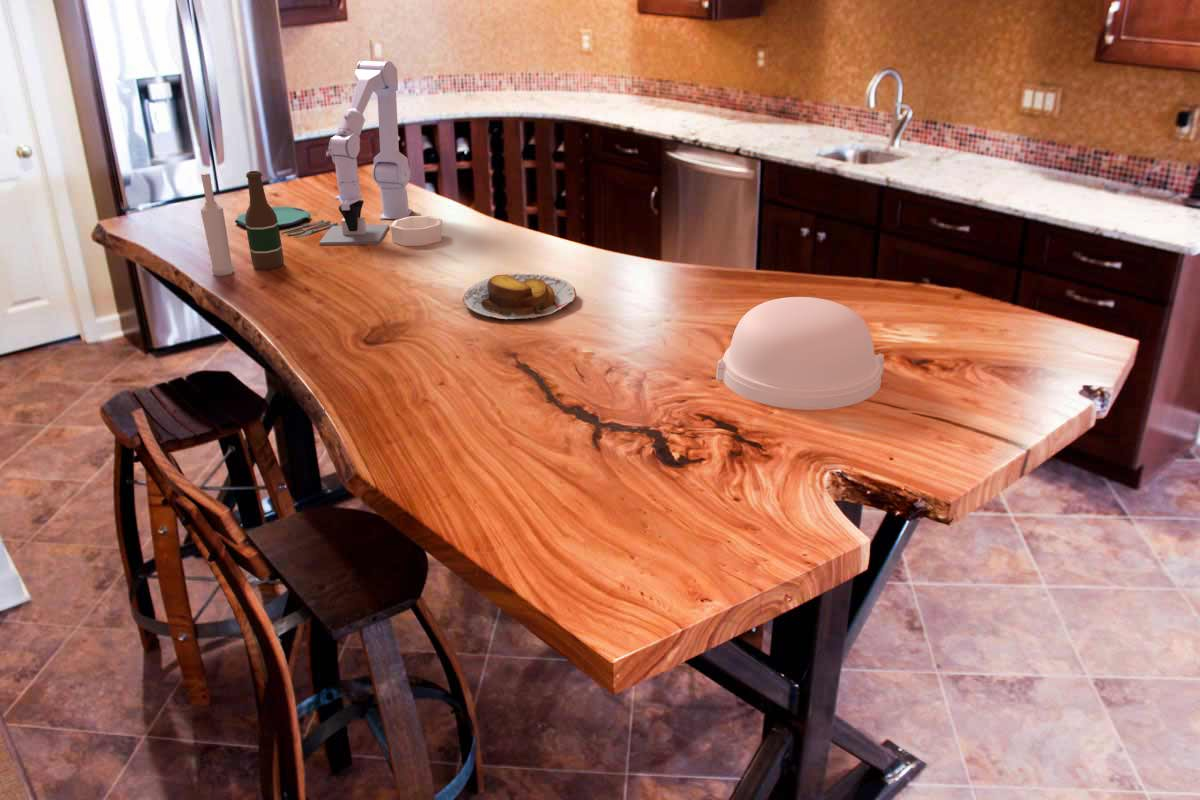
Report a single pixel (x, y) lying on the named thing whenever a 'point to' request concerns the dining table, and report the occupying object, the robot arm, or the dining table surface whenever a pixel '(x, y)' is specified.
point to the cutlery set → (291, 220)
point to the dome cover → (802, 355)
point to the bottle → (215, 231)
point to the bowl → (417, 230)
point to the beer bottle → (262, 227)
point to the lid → (354, 234)
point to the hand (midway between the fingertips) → (354, 229)
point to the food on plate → (519, 295)
